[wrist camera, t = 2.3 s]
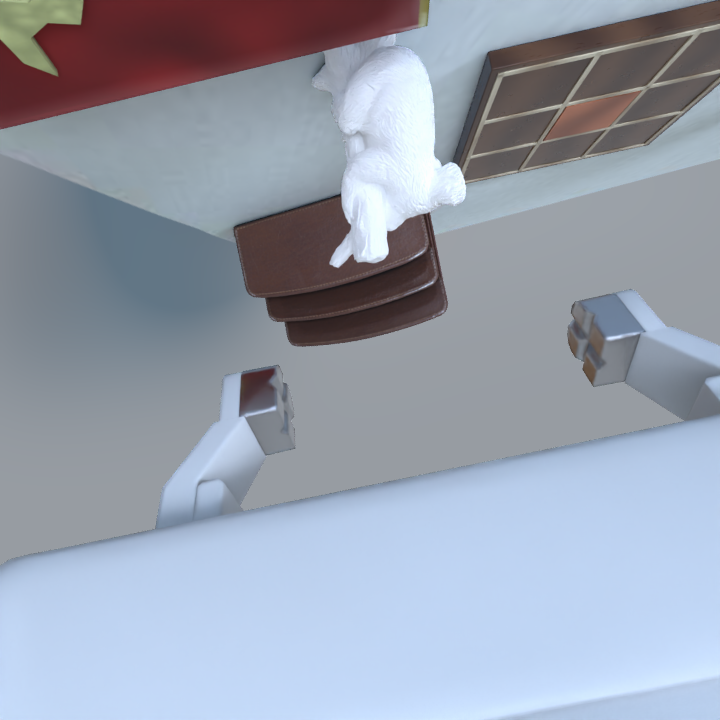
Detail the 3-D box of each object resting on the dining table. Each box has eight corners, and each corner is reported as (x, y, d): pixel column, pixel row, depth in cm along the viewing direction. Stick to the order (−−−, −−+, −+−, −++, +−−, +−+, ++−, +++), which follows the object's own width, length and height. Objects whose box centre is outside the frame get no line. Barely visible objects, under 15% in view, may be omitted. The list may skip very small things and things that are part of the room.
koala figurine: (310, 102, 33) (346, 281, 32) (265, 40, 26) (309, 264, 26) (438, 56, 31) (477, 248, 30) (423, -22, 24) (474, 221, 24)
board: (818, -23, 30) (823, -2, 30) (646, 133, 50) (648, 146, 50) (487, 51, 31) (492, 72, 31) (448, 175, 51) (450, 188, 51)
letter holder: (427, 200, 57) (452, 320, 57) (271, 243, 62) (293, 354, 62) (414, 170, 48) (444, 315, 47) (231, 225, 53) (256, 356, 52)
